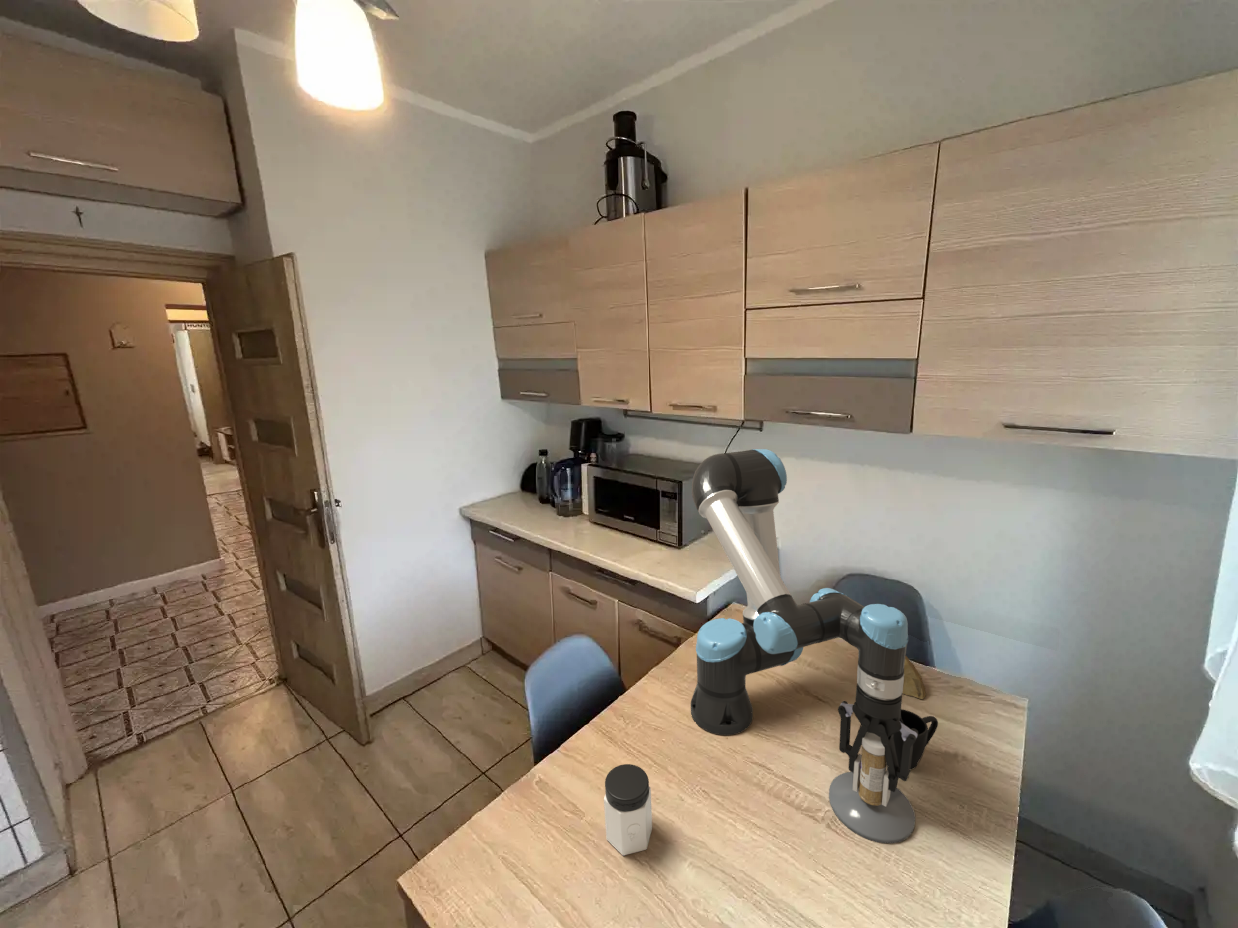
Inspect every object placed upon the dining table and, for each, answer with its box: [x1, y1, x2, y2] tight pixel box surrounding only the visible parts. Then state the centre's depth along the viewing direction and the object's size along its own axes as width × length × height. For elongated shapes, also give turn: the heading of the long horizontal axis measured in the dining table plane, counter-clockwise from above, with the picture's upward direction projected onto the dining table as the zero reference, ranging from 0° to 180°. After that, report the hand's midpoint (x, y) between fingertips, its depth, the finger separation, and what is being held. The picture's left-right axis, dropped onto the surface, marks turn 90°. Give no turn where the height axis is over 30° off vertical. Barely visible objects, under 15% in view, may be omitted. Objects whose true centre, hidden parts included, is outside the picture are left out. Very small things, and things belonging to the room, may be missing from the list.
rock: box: [902, 655, 927, 700], centre depth 130 cm, size 11×9×10 cm
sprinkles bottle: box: [858, 732, 887, 806], centre depth 97 cm, size 5×5×14 cm
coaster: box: [828, 771, 916, 844], centre depth 99 cm, size 15×15×1 cm
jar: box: [603, 763, 653, 856], centre depth 94 cm, size 9×8×12 cm
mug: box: [893, 708, 939, 770], centre depth 109 cm, size 8×12×10 cm
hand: (871, 793), depth 98 cm, fingers open, 5 cm apart
